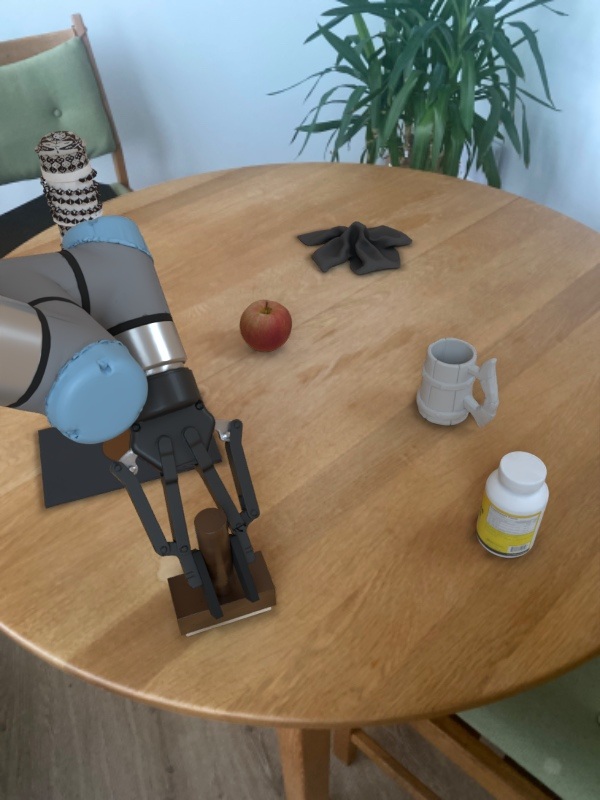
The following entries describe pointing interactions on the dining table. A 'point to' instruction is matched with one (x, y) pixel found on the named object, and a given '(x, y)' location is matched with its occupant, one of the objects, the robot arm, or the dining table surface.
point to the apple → (265, 325)
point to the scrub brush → (219, 580)
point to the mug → (456, 384)
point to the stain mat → (89, 466)
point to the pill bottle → (513, 505)
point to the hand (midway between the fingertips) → (235, 606)
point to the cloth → (357, 247)
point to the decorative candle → (68, 180)
